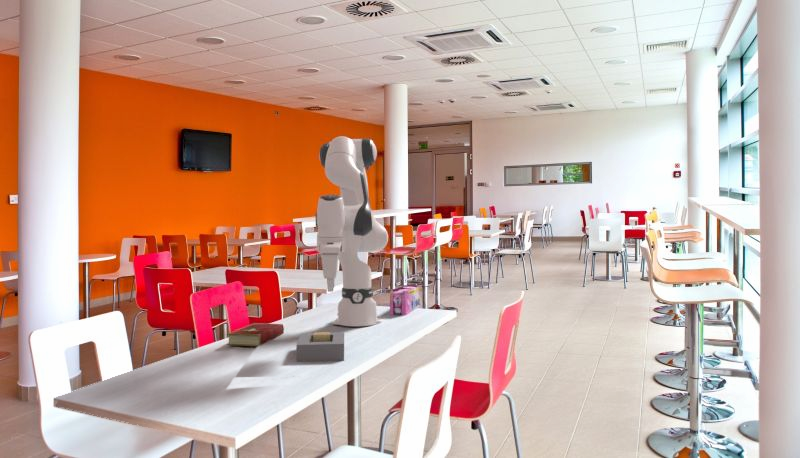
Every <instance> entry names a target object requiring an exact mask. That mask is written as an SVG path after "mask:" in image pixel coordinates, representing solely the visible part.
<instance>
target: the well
mask: <svg viewBox="0 0 800 458" xmlns="http://www.w3.org/2000/svg"><path fill="white" fill-rule="evenodd" d="M313 335H314V332H306V333H304V332H303V333H302V332H301V333H300V335H299V338H298V340H297V343H296V349H295V350H296V362H297V363H298V362H299V363H301V362H302V363H303V362H335V361H337V362H339V361H341V362H342V361H345V332H336V331H335V332H330V342H313Z"/></svg>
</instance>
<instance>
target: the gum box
mask: <svg viewBox="0 0 800 458" xmlns="http://www.w3.org/2000/svg"><path fill="white" fill-rule="evenodd" d="M420 290H421V285H414V284H413V285H412V284H411V285H410V284H409V285H408V284H406V285H401V286H399V287H396V288H393V289H391V290H390V291H389V294H390V295H389V296H390V297H389V316H394V315H396V316H407V315H409V314H410V313H411V312H413V311H414V310H416V309H418V308H419V307H420V306H421V297H420V296H421V291H420Z"/></svg>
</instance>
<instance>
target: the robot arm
mask: <svg viewBox="0 0 800 458" xmlns="http://www.w3.org/2000/svg"><path fill="white" fill-rule="evenodd" d="M318 152H319V153H318V156H319V157H318V159H319V161H320V164H321V166H322V167H323V168H324V174H325V176H326V178H327V179H328V181H330V182H331V183H332V184H333V185H335V186H337V187H339V192H340V194H324V195H321V196H320V197H318V203H317V211H316V212H315V227H316V228H317V234H316V252H318V253H319V254H320V258H321V268H322V275H323V279H326V283H327V292H333V291H334V288H335V280H336V278H337V273H338V270H339V269H338V266H339V265H338V264H339V263H340V266H341V270H342V271H341V272H342V288H341V297H342V298H341V300H340V301H339V302H338V303H337V304H338V305H337V318H336V319H335V320H333V323H332V324H333V325H336V326H337V325H339V326H344V327H367V326H368V327H369V326H374V325H377V324H382V320H381V319H380V318H378V316H377V315H378V314H377V313H378V312H377V310H378V309H377V308H378V307H377V301H375V300H374V299H373V296H374V295H373V292H374V290H373V287H372V269H371V266H370V265H369V264H367V263H366V262H365V261H363V260H361V259H360V257H359V255H358V253H369V252H370V253H373V252H378V251H381V250H383V249H385V247H386V246H387V244H388V242H389V234H388V231H387V229H386V228H385V226H384V225H382V224H381V223H380V222H378V220H377V219H376V218H375V216H374V214H373V210H372V207H371V204H370V196H369V183H368V175H367V173H366V172H367V171H368V170H370V168H371V167H372V166H373V165H374V164H375V162H376V160H377V156H378V151H377V146H376V144H375V142H374V141H373V140H372V139H371V138H349V137H347V136H345V135H343V136H341V135H340V136H337V137H335V138H333V139H332V140H331V141H329V142H325V143H323V144H322V145H321V146H320V147H319V151H318ZM338 262H339V263H338Z"/></svg>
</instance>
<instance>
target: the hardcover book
mask: <svg viewBox="0 0 800 458" xmlns="http://www.w3.org/2000/svg"><path fill="white" fill-rule="evenodd" d="M283 334H285V325H284V324H283V323H267V322H266V323H263V322H262V323H259V322H258V323H257V322H253V323H251V324H248V325H245V326H244V327H241V328H238V329H235V330H234V331H233V330H232V331H230V332H227V334H226V335H227V336H228V343H227V344H226V345H227V346H237V347H239V346H240V347H258V346H261V345H263V344H264V343H267V342H269V341H273V340H274V339H276V338H279V337H280V336H281V335H283Z"/></svg>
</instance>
